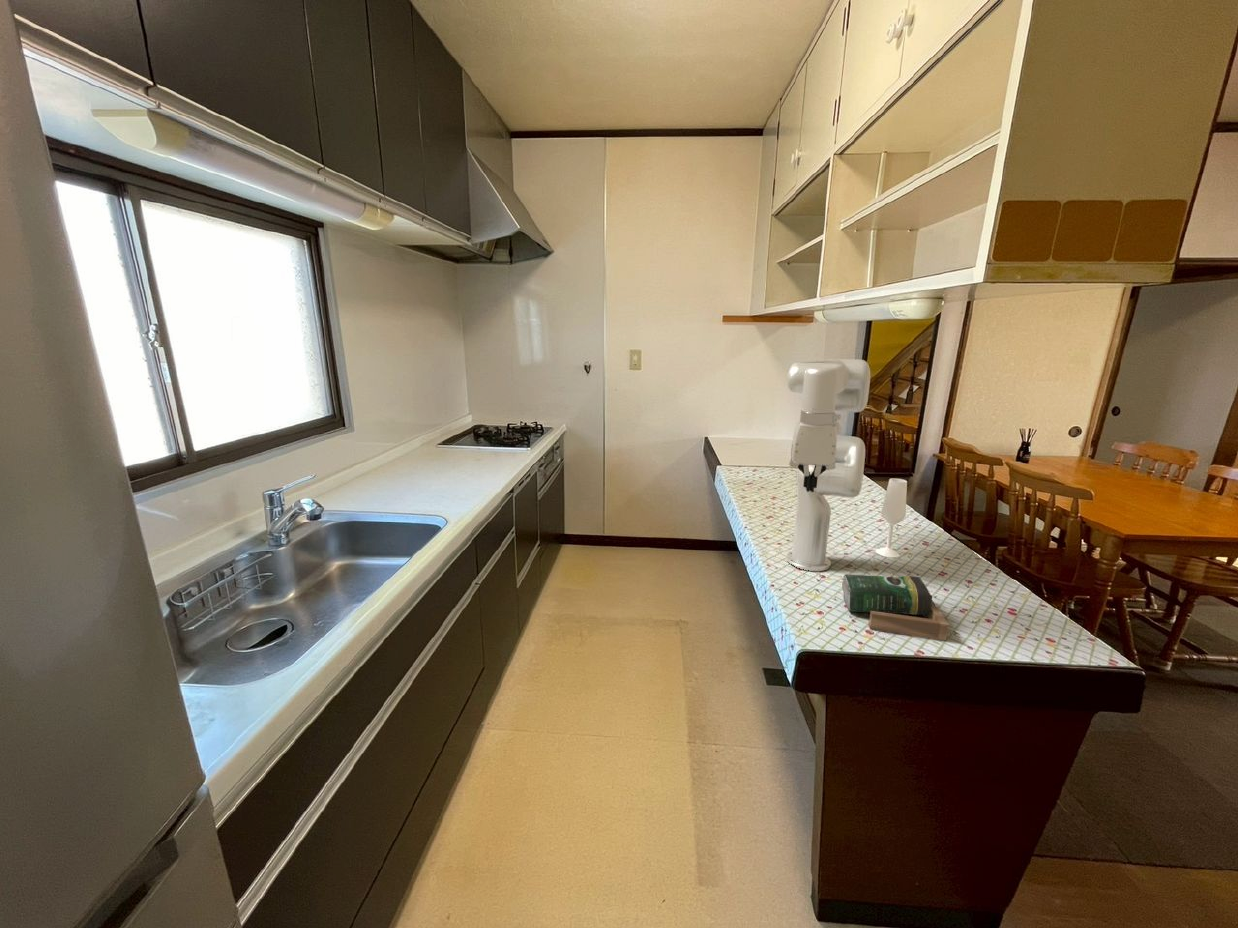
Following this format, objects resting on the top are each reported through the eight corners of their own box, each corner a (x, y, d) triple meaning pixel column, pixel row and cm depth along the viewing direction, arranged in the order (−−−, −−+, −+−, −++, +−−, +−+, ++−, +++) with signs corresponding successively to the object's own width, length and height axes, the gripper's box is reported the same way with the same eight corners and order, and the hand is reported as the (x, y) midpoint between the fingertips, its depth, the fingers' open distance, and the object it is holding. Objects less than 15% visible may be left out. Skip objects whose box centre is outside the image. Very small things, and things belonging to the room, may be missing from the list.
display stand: (856, 592, 131) (858, 579, 130) (921, 601, 127) (924, 587, 126) (869, 629, 114) (872, 614, 113) (945, 640, 110) (948, 624, 109)
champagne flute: (886, 558, 152) (898, 484, 146) (870, 549, 159) (880, 478, 153) (904, 556, 154) (916, 482, 148) (887, 547, 160) (898, 476, 154)
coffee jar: (848, 617, 120) (934, 621, 115) (848, 587, 118) (936, 590, 113) (841, 597, 129) (921, 600, 124) (841, 569, 127) (922, 571, 122)
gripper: (847, 416, 120) (839, 487, 125) (783, 414, 124) (778, 483, 129) (853, 422, 113) (843, 497, 118) (784, 420, 117) (779, 492, 122)
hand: (809, 490), depth 124 cm, fingers closed
